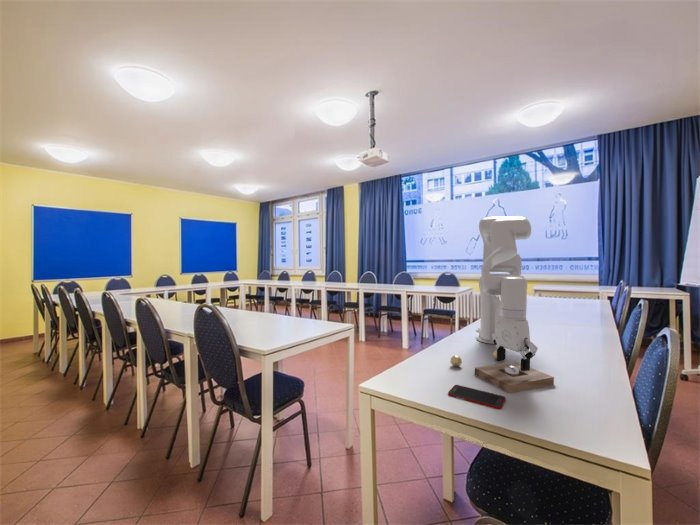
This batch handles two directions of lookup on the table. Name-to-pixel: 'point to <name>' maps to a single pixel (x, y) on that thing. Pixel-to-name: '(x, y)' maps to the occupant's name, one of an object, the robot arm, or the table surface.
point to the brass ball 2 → (495, 354)
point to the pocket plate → (513, 384)
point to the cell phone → (477, 396)
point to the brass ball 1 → (456, 361)
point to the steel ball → (511, 371)
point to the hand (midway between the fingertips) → (512, 365)
